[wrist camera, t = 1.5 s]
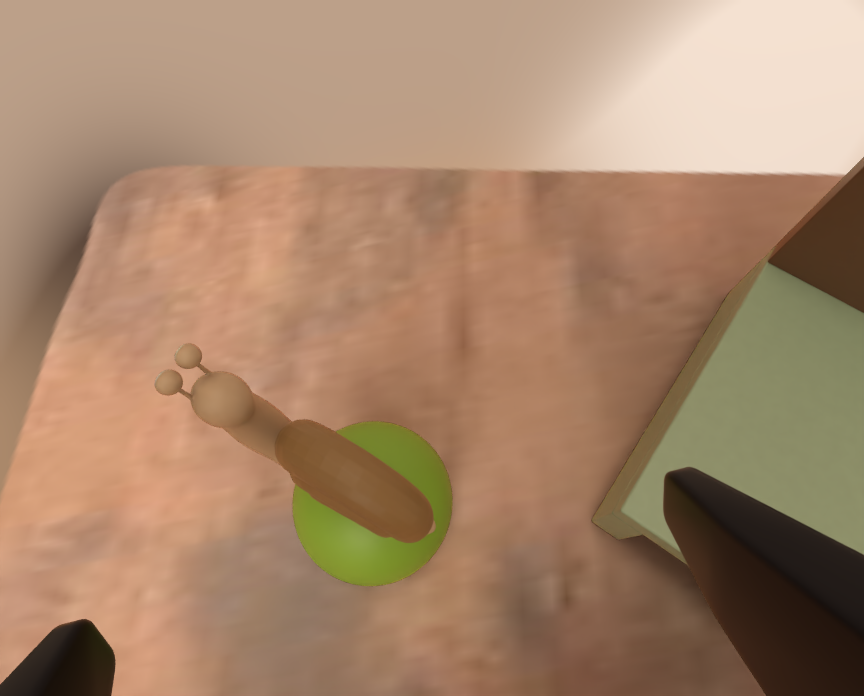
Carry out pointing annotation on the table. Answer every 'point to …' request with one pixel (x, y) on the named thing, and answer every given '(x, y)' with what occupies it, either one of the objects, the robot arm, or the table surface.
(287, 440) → the snail figurine
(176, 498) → the table surface
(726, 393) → the bench with backrest
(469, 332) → the table surface
